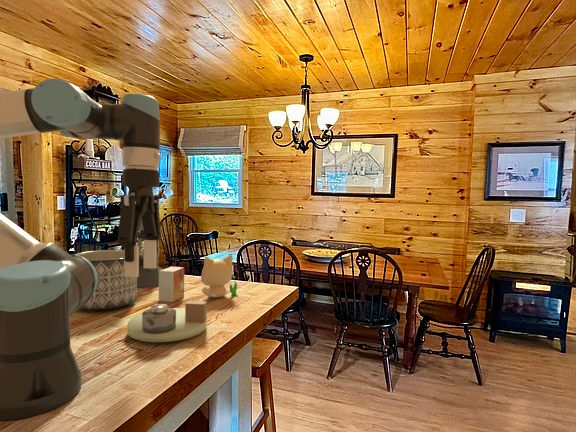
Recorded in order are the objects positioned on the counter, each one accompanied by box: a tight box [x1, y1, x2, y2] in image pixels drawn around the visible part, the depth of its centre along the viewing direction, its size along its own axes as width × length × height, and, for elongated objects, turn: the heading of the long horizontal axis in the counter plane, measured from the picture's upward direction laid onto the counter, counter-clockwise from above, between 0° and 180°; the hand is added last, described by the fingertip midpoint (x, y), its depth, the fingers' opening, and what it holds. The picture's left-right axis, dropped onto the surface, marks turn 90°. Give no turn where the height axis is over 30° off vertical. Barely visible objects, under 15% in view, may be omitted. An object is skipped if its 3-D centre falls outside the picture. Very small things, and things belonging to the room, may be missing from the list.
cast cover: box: [141, 303, 176, 334], centre depth 92 cm, size 8×8×6 cm
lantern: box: [119, 219, 164, 289], centre depth 147 cm, size 18×20×30 cm
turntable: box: [127, 300, 208, 343], centre depth 98 cm, size 20×20×7 cm
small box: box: [158, 266, 185, 303], centre depth 128 cm, size 8×6×10 cm
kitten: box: [200, 254, 238, 298], centre depth 132 cm, size 15×10×15 cm
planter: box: [73, 249, 138, 311], centre depth 119 cm, size 19×19×16 cm
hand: (141, 272), depth 82 cm, fingers open, 8 cm apart
